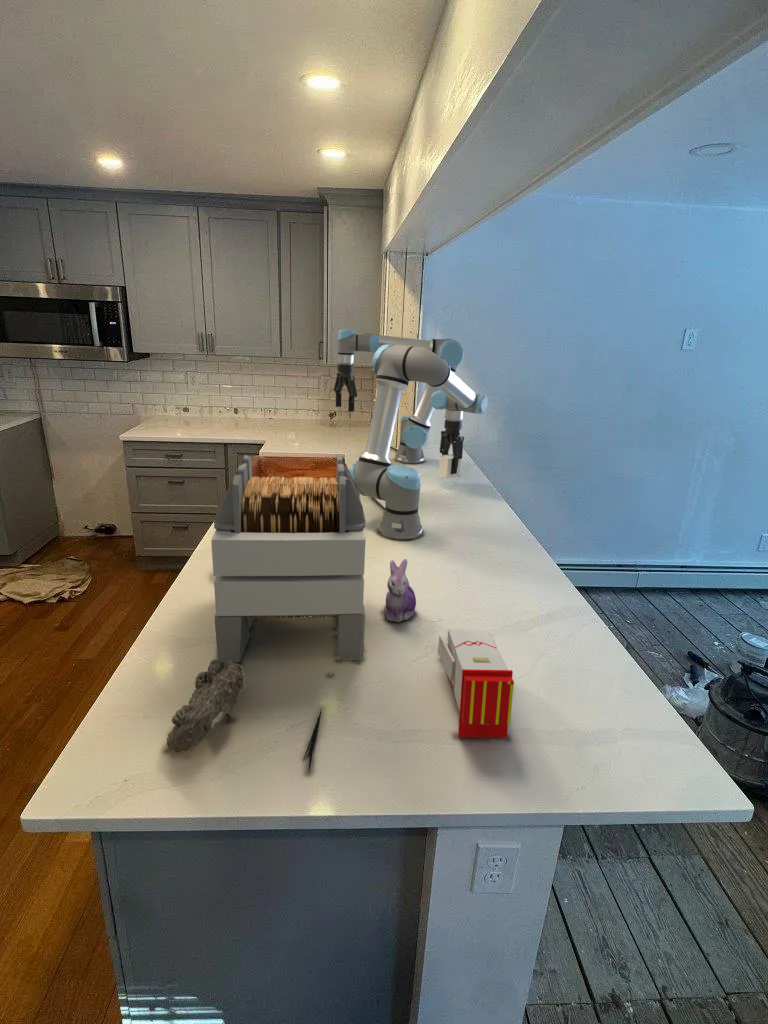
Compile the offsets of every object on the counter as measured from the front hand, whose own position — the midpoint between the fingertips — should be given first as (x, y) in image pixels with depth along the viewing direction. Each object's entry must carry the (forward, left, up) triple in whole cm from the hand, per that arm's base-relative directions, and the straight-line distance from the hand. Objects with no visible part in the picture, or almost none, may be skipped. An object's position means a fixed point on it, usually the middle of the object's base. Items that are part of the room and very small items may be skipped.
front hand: (449, 471), depth 251 cm
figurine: (+69, -92, -8) cm, 115 cm away
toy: (+102, -101, -8) cm, 144 cm away
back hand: (-57, -16, +20) cm, 62 cm away
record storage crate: (+57, -116, -8) cm, 129 cm away
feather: (+90, -131, -8) cm, 159 cm away
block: (0, 0, -2) cm, 2 cm away
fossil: (+77, -146, -8) cm, 165 cm away
